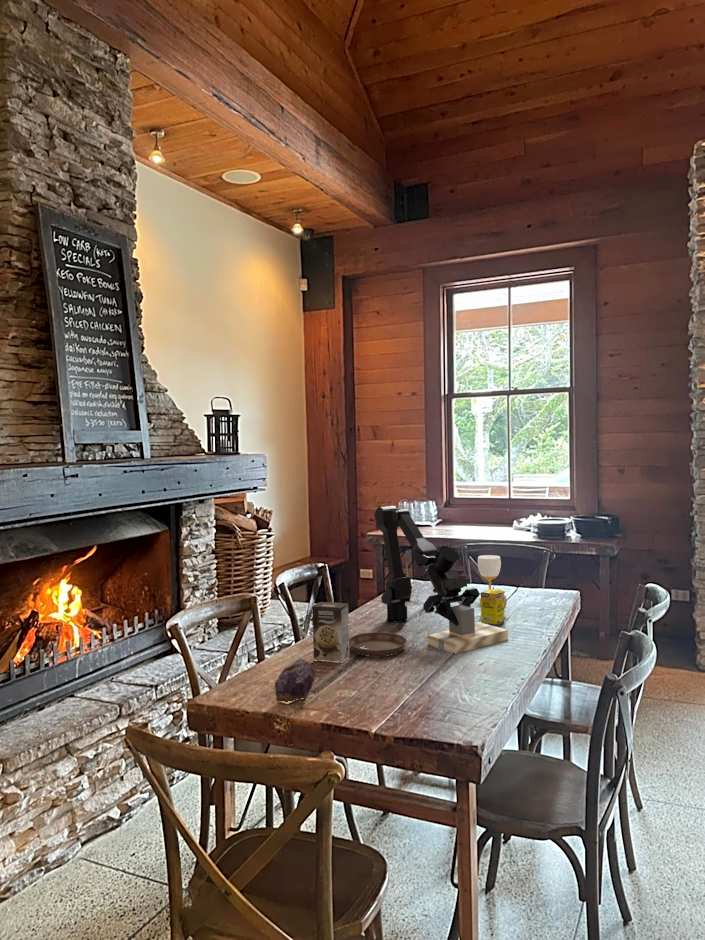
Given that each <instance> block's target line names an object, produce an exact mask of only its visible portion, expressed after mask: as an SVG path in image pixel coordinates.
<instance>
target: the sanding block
mask: <svg viewBox="0 0 705 940" xmlns="http://www.w3.org/2000/svg"><path fill="white" fill-rule="evenodd" d="M451 609H452V611H453V613H454V614H455V616H456V618H457V620H458V623H459V625H458V626H456V625H455V624H453V623H452V622H450V621H449V620H448V627H449V628H448V630H449V633H451V634H453V635H456V636H459V637H466V636H471V635H475V622H476V621H475V620H476V618H475V608H474V607H471V606H470V607H468V606H464V605H459V604H457V605H453V606H452V605H451Z"/></svg>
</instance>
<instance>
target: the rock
mask: <svg viewBox="0 0 705 940" xmlns="http://www.w3.org/2000/svg"><path fill="white" fill-rule="evenodd" d="M316 675H317V674H316V672H315V669H314V668H313V666H312V664H310V662H309V661H307V660H306V659H303V658H299V659H296V660H295V661H293V662H292V663H291V664H289V665H288V666H285V667H284V669H283V670H282V671H281V673H280V674H279V676H278V677H277V679H276V680H275V682H274V688H275V699H276V701H277V702H278V701H285V702H288V701H293V700H296V699H301V698H305V697H306V698H308V695H309V693H310V691H311V690H312V687H313V684H314V681H315V679H316V678H315V677H316Z"/></svg>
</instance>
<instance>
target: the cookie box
mask: <svg viewBox="0 0 705 940" xmlns="http://www.w3.org/2000/svg"><path fill="white" fill-rule="evenodd" d="M311 608H312V610H311V611H312V644H313V660H314V659H315V660H329V661H339V662H343V661H344V660H345V659H346V658H348V657H349V656H350V645H349V639H350V633H349V631H350V630H349V626H350V625H349V603H345V602H330V601H329V602H328V601H326V602H325V601H319V602H318V603H315V604H313V605H311ZM348 659H349V658H348Z"/></svg>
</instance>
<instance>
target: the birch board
mask: <svg viewBox="0 0 705 940" xmlns="http://www.w3.org/2000/svg"><path fill="white" fill-rule="evenodd" d="M507 639H508V640H509V630H508V629H506V628H503V627H499V626H497V627H496V626H492V625H488V624H484V623H481V621H479V622H476V623H475V635H471V636H466V637H459V636H456V635H453V634H451V633H449V629H448V630H443V631H440V632H439V631H438V632H436V633H432V634H431V633H430V634H427V646H429V645H430V646H431V647H432V648H436V649H439V648H440V649H439V650H442V649H443V650H442V651H445V650H446V651H445V652H448V653H450V654H454V653H455V654H454V655H457V654H462V653H464V652H469V651H472V650H475V649H478V648H482V647H486V646H489V645H492V644H496V643H500V642H504V641H508V640H507Z"/></svg>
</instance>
